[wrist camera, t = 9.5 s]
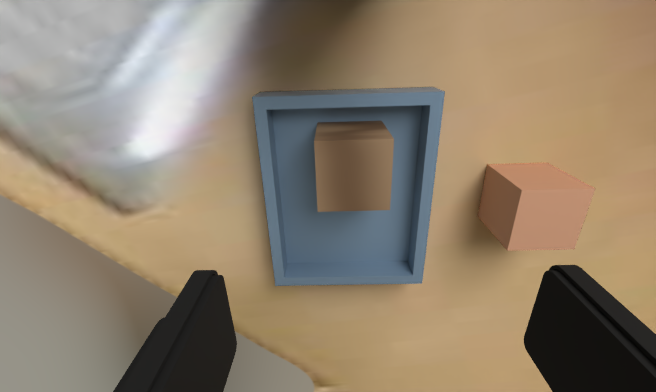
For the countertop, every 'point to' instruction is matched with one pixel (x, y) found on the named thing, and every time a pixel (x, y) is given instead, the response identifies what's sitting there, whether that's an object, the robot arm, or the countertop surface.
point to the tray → (347, 226)
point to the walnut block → (353, 166)
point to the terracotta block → (534, 206)
